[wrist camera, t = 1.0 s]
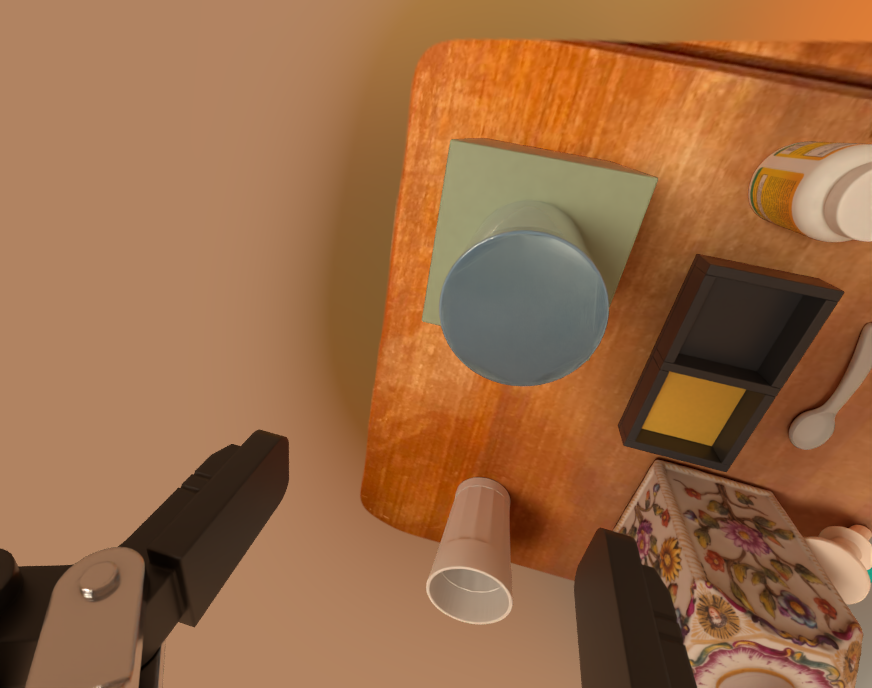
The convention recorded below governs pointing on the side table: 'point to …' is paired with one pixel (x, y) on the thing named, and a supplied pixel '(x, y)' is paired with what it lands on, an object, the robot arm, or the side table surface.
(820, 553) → the beige rounded piece
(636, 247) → the side table surface
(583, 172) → the shelf
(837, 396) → the spoon
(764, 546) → the decorative jar
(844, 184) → the supplement bottle
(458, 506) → the cup
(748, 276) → the tray
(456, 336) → the blue grey cylinder
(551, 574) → the side table surface
